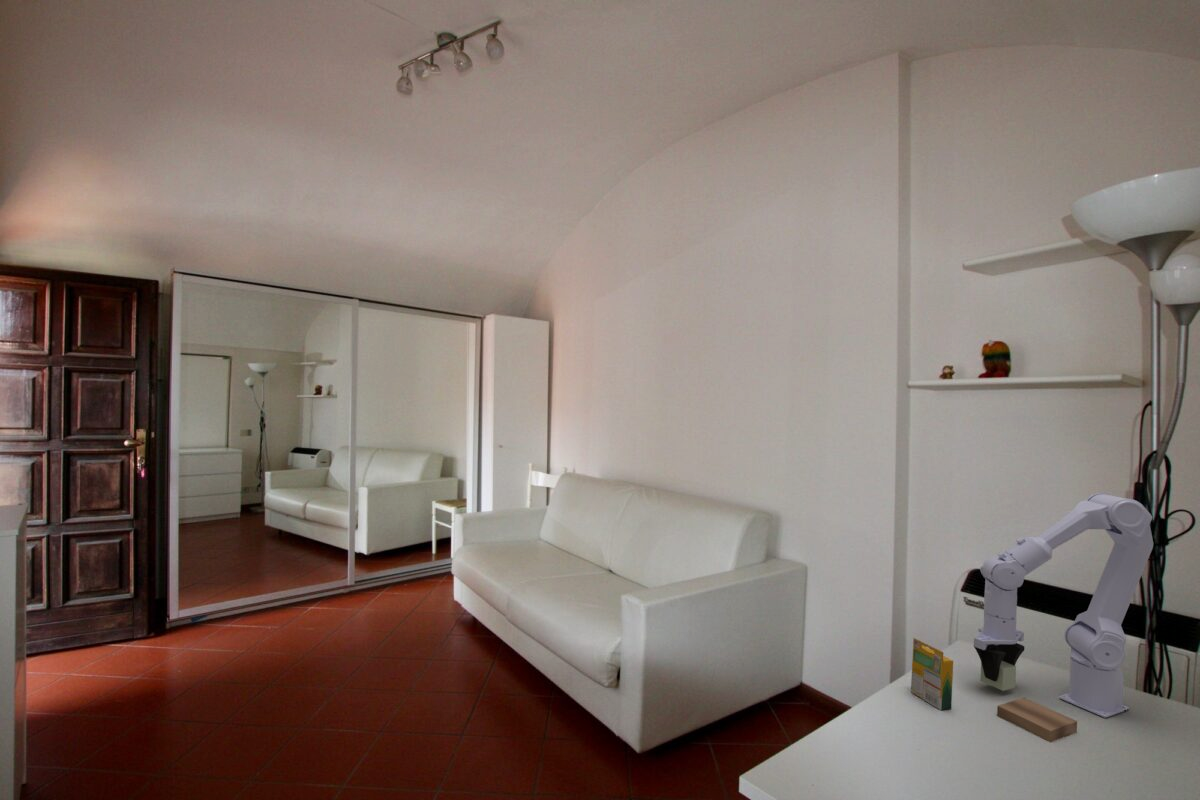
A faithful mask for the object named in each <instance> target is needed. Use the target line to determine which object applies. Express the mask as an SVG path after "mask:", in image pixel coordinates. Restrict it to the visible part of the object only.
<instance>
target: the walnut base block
mask: <svg viewBox="0 0 1200 800" xmlns="http://www.w3.org/2000/svg"><path fill="white" fill-rule="evenodd" d="M996 707H997V709H996V710H997V711H996V712H997V713H996V716H997V717H998V718H1001V719H1002V720H1004V721H1007V722H1008V723H1010V724H1013V725H1015V726H1017V727H1019V728H1021V729H1023V730H1024V731H1027V732H1029V733H1031V734H1033V735H1036V736H1037V737H1039V738H1041V739H1043V740H1046V741H1047V742H1049V743H1052V742H1055V741H1057V740H1060V739H1063V738H1065V737H1067V736H1071V735H1073V734H1076V733H1077V732H1078V721H1077V720H1075V719H1073V718H1071V717H1069V716H1066V715H1064V714H1062V713H1059V712H1057V711H1055V710H1053V709H1050V708H1048V707H1046V706H1044V705H1042V704H1039V703H1037V702H1036V701H1032V700H1030V699H1028V698H1026V697H1021V698H1018V699H1015V700H1011V701H1009V702H1005V703H1002V704H998V705H997V706H996Z"/></svg>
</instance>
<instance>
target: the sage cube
mask: <svg viewBox="0 0 1200 800" xmlns="http://www.w3.org/2000/svg"><path fill="white" fill-rule="evenodd" d="M1016 679H1017V666H1016V665H1015V666H1014V665H1012V664H1009V663H1007V662H1004V661H1001V664H1000V669H999V675H998V679H997V681H992V680H990V679H988V678H985V675H984V671H983V667H982V663H981V662H980V682H983V683H985V684H986V685H988V686H991V687H993V688H995V689H998V690H1000V691H1002V692H1004V691H1007V690H1011V689H1014V688H1016V684H1017V683H1016V681H1017V680H1016Z"/></svg>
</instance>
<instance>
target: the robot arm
mask: <svg viewBox="0 0 1200 800" xmlns="http://www.w3.org/2000/svg"><path fill="white" fill-rule="evenodd" d="M1152 520H1153V516H1152V514H1151V513H1150V512H1149V511H1148V510H1147V508H1146V507H1145V506H1144V505H1143V504H1142V503H1141V502H1140V501H1137V500H1135V499H1132V498H1127V497H1126V498H1124V497H1120V496H1115V495H1111V494H1109V493H1104V492H1097V493H1093V494H1091V495H1089V496H1088V497H1087V498H1086V499H1085V500H1084V499H1083V500H1081V501H1080V502H1078V503H1077V504H1076V506H1075V507H1074V508H1073V509H1072V510H1071V511H1070V512H1069V513H1066V514H1065V516H1063V517H1062V518H1061V519H1060V520H1058V521H1057V522H1055V523H1054V524H1053V525H1051V526H1050V527H1049V528H1048V529H1046V530H1045V531H1044V532H1043V533H1041V534H1040V535H1038V536H1036V537H1035V536H1026V537H1019V538H1017V539H1016V542H1017V543H1015V544H1013V545H1012V546H1011V547H1009V548H1008V549H1006V550H1005V551H1004V552H1003V551H1000V552H998V553H997V556H995V557H993V556H992V557H990V558H987V559H986V560H985V561H984V562H983V564H982V566H980V568H979V570H980V573H981V575H982V576H983V578H984V579H985V581H984V583H985V584H984V599H983V600H984V602H983V627H978V629H977V631H978V632H979V634H978V635H977V636H975V637H973V648H974V649H975V651H976V653H977V655H978V657H979V660H980V664H981V663H982V667H983V671H984V675H985V678H988V679H990V680H992V681H997V679H998V675H999V669H1000V664H1001V661H1004V662H1007V663H1009V664H1012V665H1014V666H1016V664H1017V661H1018V660H1019V658H1020V657H1021V655H1022V654H1023V652H1025V645H1023V644H1020V643H1018V642H1024V640H1025V639H1024V637H1025V636H1024V635H1025V632H1024V631H1021V630H1018V629H1017V612H1018V611H1017V609H1018V608H1017V607H1018V605H1017V604H1018V588H1020V587H1022V586H1023V583H1024V580H1025V577H1026V576H1028V575H1030V573H1032V572H1034V571H1035V570H1037V569H1038V568H1040V567H1042V566H1043V565H1044V564H1045V563H1047V562H1049V561H1050V560H1052V556H1053V550H1055V549H1056V548H1058V547H1060V546H1062V545H1063V544H1064V543H1067V542H1069V541H1071V540H1073V538H1075V537H1077V536H1079V535H1081V534H1082V533H1084V532H1086V531H1087V530H1105V531H1106V533H1107V534H1108V535H1109V537H1110V538H1111V539H1112V541H1113V543H1114V544H1113V546H1112V549H1111V552H1110V554H1109V556H1108V559H1107V560H1106V561H1107V562H1106V563H1105V567H1104V569H1103V570H1102V573H1101V576H1100V577H1099V580H1098V584H1097V586H1096V588H1095V590H1094V593H1093V595H1092V597H1091V600H1090V603H1089V605H1088V608H1087V610H1086V611H1083V612H1081V613H1079V614H1077V615H1076V618H1075V620H1074V621H1073V622H1072V623H1071V624H1069V625H1068V626H1067V627H1066V628H1065V630H1064V640H1065V642H1066V643H1067V645H1068V646H1069V647H1070V655H1069V656H1070V658H1069V680H1068V681H1069V682H1068V683H1069V684H1068V685H1069V686H1068V688H1069V689H1068V690H1069V691H1068V692H1067V693H1065V694H1062V695H1061V694H1060V695H1059V699H1060V700H1063V701H1065V702H1067V703H1070V704H1072V705H1074V706H1077V707H1079V708H1081V709H1084V710H1086V711H1089V712H1090V713H1092V714H1095V715H1098V716H1100V717H1102V718H1110V717H1111V716H1115V715H1117V714H1120V713H1123V712H1125V711H1124V710H1126V711H1128V710H1127V709H1129V708H1130V707H1129V706H1127V705H1124V685H1125V684H1124V683H1125V682H1124V681H1125V677H1124V673H1123V671H1122V670H1121V669H1120V667H1121V666H1122V665H1123V664H1124V663H1125V661H1126V652H1125V644H1126V642H1127V637H1126V635H1125V632H1124V630H1123V627H1122V624H1123V621H1124V619H1125V616H1126V614H1127V611H1128V609H1129V607H1130V604H1131V602H1132V599H1133V597H1134V595H1135V592H1136V589H1137V588H1138V587H1137V586H1138V584H1139V582H1140V579H1141V577H1142V575H1143V573H1144V570H1145V568H1146V565H1147V562H1148V560H1149V559H1150V555H1151V553H1152V551H1153V549H1154V541H1153V535H1152V530H1151V522H1152ZM1129 710H1130V709H1129Z"/></svg>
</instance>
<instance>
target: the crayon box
mask: <svg viewBox="0 0 1200 800" xmlns="http://www.w3.org/2000/svg"><path fill="white" fill-rule="evenodd" d="M912 642H913V644H912V645H913V647H912V660H911V661H912V663H911V664H912V665H911V680H910V681H911V682H910V683H911V684H910V693H911V694H912V695H914V696H917V697H918V698H920V699H922V700H923V701H925V702H927V703H928V704H930V705H931V706H933V707H934V708H936V709H938V710H939V711H945V710H951V709H952V704H953V703H952V700H953V679H954V678H953V676H954V660H953V659H950V658H948V657H946V656H944V652H943V651H942V650H940V649H937V648H935V647H934V646H932V645H929V644H928V643H926V642H923V641H921V640H919V639H917V638H915V637H913V641H912Z"/></svg>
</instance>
